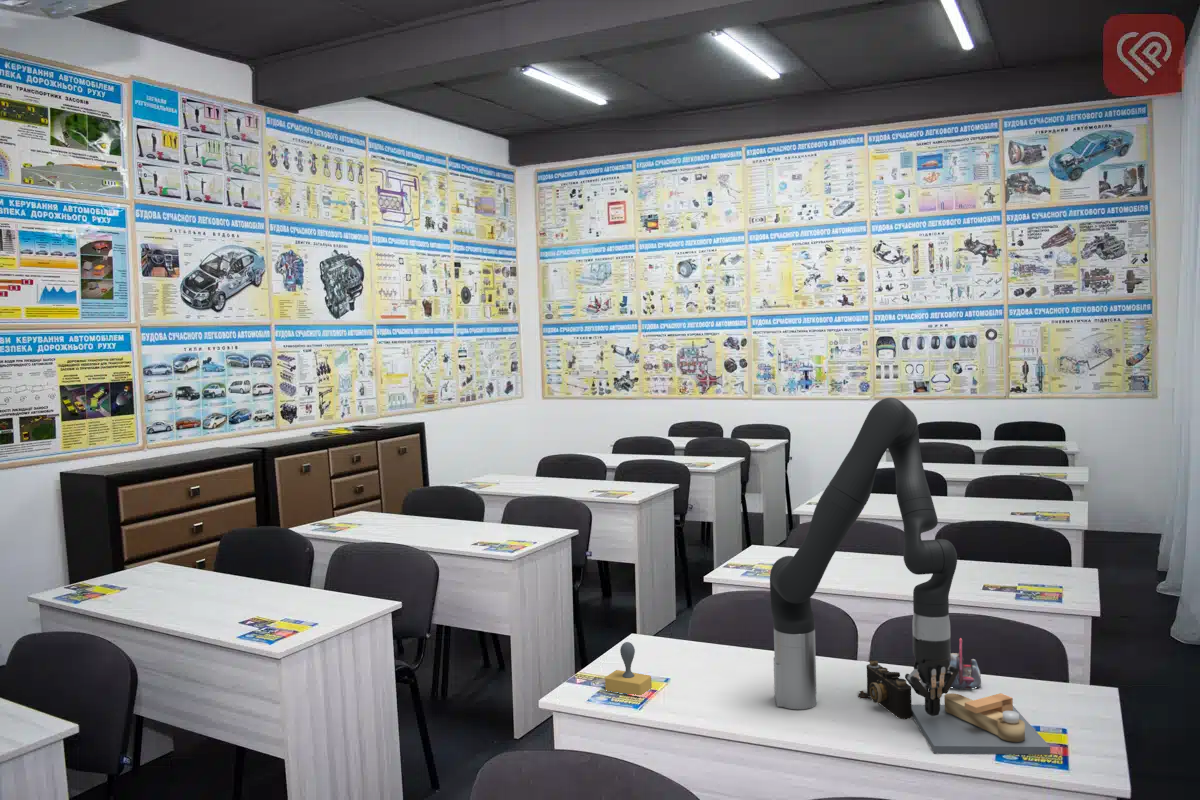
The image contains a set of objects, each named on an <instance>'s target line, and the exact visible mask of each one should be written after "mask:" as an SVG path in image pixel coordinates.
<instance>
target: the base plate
mask: <svg viewBox="0 0 1200 800" xmlns="http://www.w3.org/2000/svg"><path fill="white" fill-rule="evenodd" d="M911 705H912V719H913V721H914V722H915V724H916V725H917V727H918V729H919V730H920V732H921V733H922V735H923V737H924V738H925V740H926V742H927V744H928V745H929V747H930V750H932V752H933V754H940V755H941V754H943V755H944V754H947V755H950V754H953V755H954V754H959V755H961V754H965V755H969V754H970V755H1051V746H1050V745H1049V744H1048V743H1047V741H1046V739H1044V738H1043V737H1042V736H1041V735H1040V734H1039V733H1038V732H1037V730H1035V728H1034V727H1033V726H1032V725H1031V724H1030V723H1029V721H1028V720H1027V719H1026V718H1025V717H1024V716H1023V715H1022V713H1020V712H1019V711H1018V709H1017V708H1016V707H1015V706H1014V705H1013V711H1003V721H1005V722H1007V723H1018V722H1019V719H1020V720H1022V721H1024V723H1025V739H1024V740H1023V741H1020V742H1011V741H1006V740H1003V739H1001V738H999V737H998V736H997V735H995V734H993V733H991V732H989V731H987V730H984V729H982V728H980V727H978V726H976V725H974V724H972V723H969V722H967V721H965V720H963V719H961V718H959V717H956V716H954V715H952V714H950V713H948V712H946V711H945V704H940V712H939V715H936V716H931V715H929V714H927V712H926V711H925V704H911Z"/></svg>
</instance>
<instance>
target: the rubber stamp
mask: <svg viewBox="0 0 1200 800" xmlns="http://www.w3.org/2000/svg"><path fill="white" fill-rule="evenodd" d="M619 650H620V651H619V652H620V656H621V660H622V661H623V664H624V667H625V670H619V669H616V670H614V671H613V672H611V673H609V674H608V675H606V676H604V683H605V685H604V687H605V691H606V690H607V691H612V692H619V693H627V694H634V695H635V694H636V695H642V694H644V693H645V692H646V691H648V690H649V689H651V688H653V686H652V683H653V682H652V675H649V674H644V673H636V672H632V663H633V660H634V658H635V653H636V649H635V646H634V645H633V643H632V642H629V641H625V642H623V643H622V644H621V646H620V649H619ZM612 692H611V693H612Z"/></svg>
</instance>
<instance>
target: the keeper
mask: <svg viewBox="0 0 1200 800" xmlns="http://www.w3.org/2000/svg"><path fill="white" fill-rule="evenodd" d="M972 700H973V701H969V702H965V709H967V710H970V711H972V712H974V713H980V712H984V711H987V710H991V709H994V710H997V711H999V712H1001V713H1003V711H1013V706H1014V704H1013V703H1014V702H1013V700H1014V699H1013V697H1012V696H1009V695H1007V694H1005V693H1001V692H1000V693H997V694H992V695H989V696H986V697H985V696H984V697H981V698H978V699H972Z"/></svg>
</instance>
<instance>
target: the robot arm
mask: <svg viewBox="0 0 1200 800" xmlns="http://www.w3.org/2000/svg"><path fill="white" fill-rule="evenodd" d="M887 450H888V451H889V454H890V457H891V458H892V462H893V467H894V471H895V472H894V473H895V492H896V499H897V503H898V508H899V511H900V515H901V520H902V523H903V524H902V525H903V553H902V554H903V555H902V556H903V562H904V565H905V566H906V567H905V568H907V570H908V571H909V572H910V573H912V574H913V575H920V576H921V575H931V577H930V578H929V579H928V580H927V581H925V582H922V583H919V584H917V585H915V586H914V588H913V592H912V593H913V594H912V598H913V599H912V600H913V602H912V604H913V605H912V606H913V609H912V610H913V614H912V615H913V616H912V621H911V623H912V625H911V626H912V654H913V656H914V659H915V660H914V663H913V670H912V671H911V672H910V673H905V675H904V679H905V680H906V682H908V683H907V684H908V685H910V686H911V689H913V691H914V692H915V693H916V694H917V695H918V696H921V697H923V698H924V705H925V711H926V712H927V714H929V715H931V716H936V715H939V712H940V705H941V698H942V695H946V694H949V691H950V689H951V688H950V687H951V685H952V683H953V681H954V680H955V678H956V676H957V674H958V672H959V670H958V669H957V668H955V667H953V666H951V665H950V661H949V659H948V658H950V656H951V651H952V648H951V621H950V612H949V611H950V610H949V609H950V608H949V606H950V601H949V596H950V595H949V594H950V591H951V587H952V584H953V583H952V582H953V579H954V576H955V573H956V569H957V564H958V553H957V550H956V548H955V545H953V543H952V542H951V541H950V540H948V539H944V538H940V539H927V540H926V539H924V540H923V539H922V534H923V533H925V532H930V531H931V530H934V529H935V528H936V527H937V526H938V524H939V520H938V516H937V511H936V509H935V505H934V500H933V498H932V495H931V494H932V493H931V491H930V487H929V484H928V481H927V477H926V472H925V469H924V463H923V460H922V459H923V457H922V453H921V445H920V433H919V425H918V419H917V417H916V414H915V413H914V412H913V411H912V409H910V408H909V407H908V406H907V405H906V404H904V402H903V401H901V400H900V399H898V398H895V397H885V398H883V399H881V400H879V401H877V402H876V403H875V404H874V405H873V406H872V407H871V409H870V410H869V412H868V414H867V415H866V418H865V419H864V421H863V424H862V426H861V428H860V430H859V432H858V434H857V436H856V438H855V440H854V442H853V445H852V446H851V448H850V449H849V451H848V453H847V454H846V456H845V458H844V459H843V461H842V463H841V464H840V465H839V467H838V468H837V471H836V472H835V474H834V475H833V477H832V479H831V480H830V481H829V483H828V484H827V486H826V488H825V489H824V491H823V492H822V494H821V496H820V498H819V499H818V502H817V503H816V506H815V508H814V511H813V513H812V518H811V521H810V525H809V528H808V531H807V533H806V536H805V538H804V539H803V542H802V544H801V545H800V546H799V548H798V550H797V551H796V552H795V554H794V555H786V556H782V557H780V558H778V559H777V560H776V561H775V562H774V563H773V565H772V566H771V569H770V574H769V592H770V595H769V596H770V611H771V616H772V622H773V645H774V646H773V648H774V650H773V651H774V654H773V655H774V657H773V682H774V683H773V688H774V689H773V690H774V700H775V705H776V707H779V708H785V709H790V710H806V709H810V708H811V709H812V708H813V707H816V705H817V703H818V702H817V701H818V700H817V696H818V695H817V693H818V692H817V665H816V663H817V662H816V660H817V659H816V656H817V655H816V654H817V653H816V624H815V621H816V620H815V616H814V613H813V609H812V603H811V602H812V601H811V597H813V595H814V594H815V593H816V591H817V589H818V587H819V585H820V584H821V583H820V582H821V580H822V579H823V576H824V574H825V572H826V570H827V568H828V565H829V564H830V562H831V560H832V558H833V557H834V555H835V553H836V552H837V550H838V548H839V547H841V544H842V542H843V541H844V539H845V538H846V537H847V534H848V533H849V531H850V530H851V528H852V527H853V526H854V524H855V523H856V521H857V520H858V518H859V516H860V515H861V513H862V511H863V510H864V508H865V507H866V504H867V503H868V501H869V499H870V497H871V493H872V491H873V487H874V483H875V478H876V474H877V470H878V467H879V464H880V462H881V460H882V458H883V456H884V455H885V453H886V452H887ZM945 682H946V683H945Z"/></svg>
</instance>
